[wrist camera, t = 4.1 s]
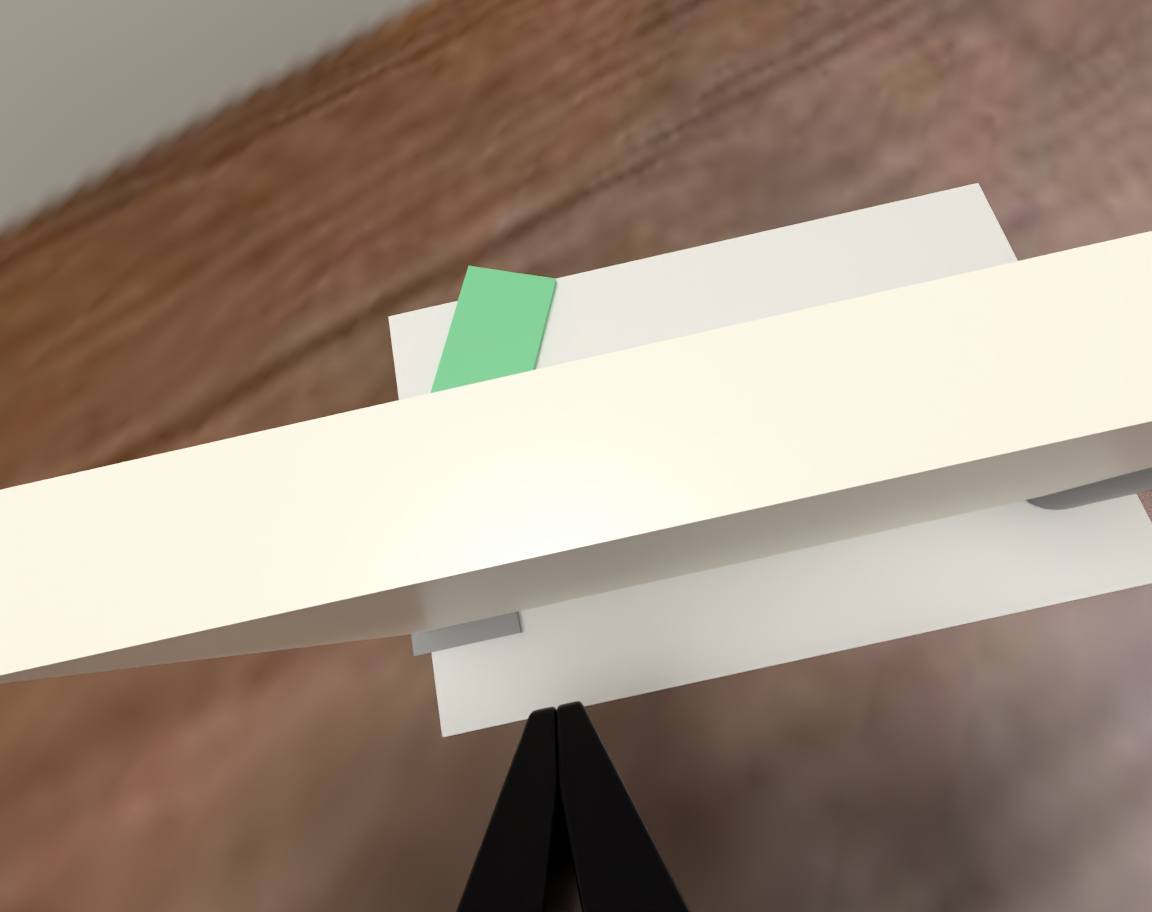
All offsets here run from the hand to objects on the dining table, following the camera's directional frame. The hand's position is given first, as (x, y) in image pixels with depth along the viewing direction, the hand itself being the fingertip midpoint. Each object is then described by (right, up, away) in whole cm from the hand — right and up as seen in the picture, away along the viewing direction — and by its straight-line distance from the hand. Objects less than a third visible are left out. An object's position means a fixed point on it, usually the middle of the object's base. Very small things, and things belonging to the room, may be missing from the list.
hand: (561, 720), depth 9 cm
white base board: (+5, +5, +9) cm, 11 cm away
